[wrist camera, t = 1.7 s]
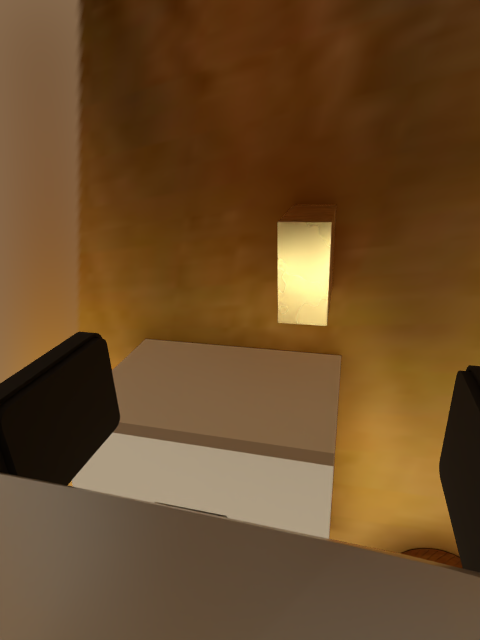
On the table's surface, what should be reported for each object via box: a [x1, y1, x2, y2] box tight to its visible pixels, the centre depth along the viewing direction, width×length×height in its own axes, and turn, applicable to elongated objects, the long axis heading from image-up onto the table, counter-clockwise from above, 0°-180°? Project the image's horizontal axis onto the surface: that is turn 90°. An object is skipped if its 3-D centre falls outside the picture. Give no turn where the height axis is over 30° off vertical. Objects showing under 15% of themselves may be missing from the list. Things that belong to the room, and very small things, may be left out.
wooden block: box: [278, 205, 337, 326], centre depth 21 cm, size 5×2×6 cm, turn 3°
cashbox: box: [72, 339, 341, 539], centre depth 27 cm, size 16×14×10 cm
